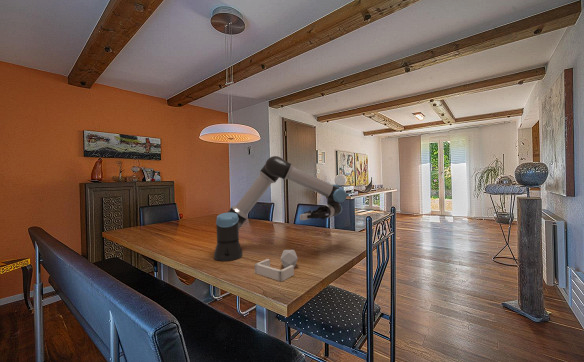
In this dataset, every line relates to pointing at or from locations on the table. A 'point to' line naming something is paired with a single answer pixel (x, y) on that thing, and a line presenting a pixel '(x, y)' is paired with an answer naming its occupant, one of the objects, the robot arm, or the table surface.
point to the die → (288, 258)
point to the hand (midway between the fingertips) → (301, 217)
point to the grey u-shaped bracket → (273, 271)
